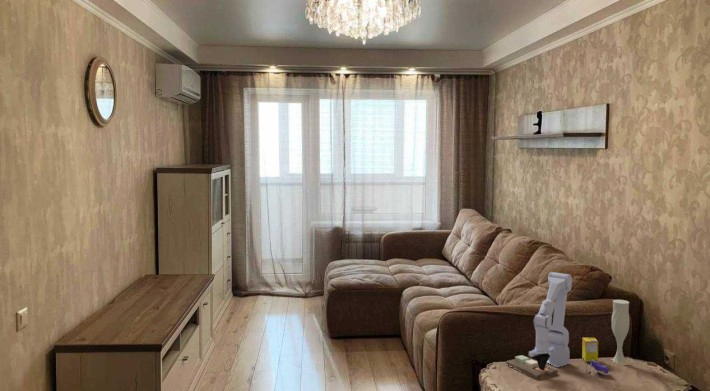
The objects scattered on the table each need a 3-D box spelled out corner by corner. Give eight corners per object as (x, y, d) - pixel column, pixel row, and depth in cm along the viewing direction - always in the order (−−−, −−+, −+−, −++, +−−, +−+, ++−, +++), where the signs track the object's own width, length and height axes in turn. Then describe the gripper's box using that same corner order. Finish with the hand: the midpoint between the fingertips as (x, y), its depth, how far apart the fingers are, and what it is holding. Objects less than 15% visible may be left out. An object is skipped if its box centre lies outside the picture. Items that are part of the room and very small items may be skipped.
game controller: (615, 365, 261) (608, 367, 254) (608, 381, 262) (600, 383, 255) (595, 354, 268) (587, 355, 260) (588, 369, 269) (580, 371, 261)
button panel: (526, 360, 279) (526, 356, 278) (557, 374, 261) (558, 370, 261) (506, 365, 273) (506, 361, 273) (536, 379, 255) (536, 375, 255)
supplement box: (594, 359, 280) (594, 337, 279) (598, 363, 274) (598, 341, 273) (581, 358, 280) (582, 337, 280) (585, 363, 274) (585, 341, 274)
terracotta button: (541, 371, 264) (541, 366, 264) (548, 375, 260) (549, 369, 260) (534, 373, 262) (534, 368, 262) (541, 376, 258) (541, 371, 258)
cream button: (531, 364, 270) (531, 359, 269) (538, 367, 266) (538, 362, 265) (524, 366, 268) (524, 361, 267) (531, 369, 264) (531, 364, 264)
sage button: (521, 360, 275) (522, 355, 275) (528, 363, 271) (528, 358, 271) (515, 361, 273) (515, 356, 273) (521, 364, 270) (521, 359, 269)
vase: (632, 365, 270) (634, 304, 268) (614, 365, 271) (616, 304, 268) (623, 359, 279) (625, 299, 277) (606, 359, 279) (608, 299, 277)
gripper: (547, 335, 267) (546, 363, 268) (524, 340, 260) (523, 369, 261) (559, 339, 260) (558, 368, 261) (535, 344, 254) (534, 374, 255)
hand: (541, 369), depth 261 cm, fingers closed, pressing on terracotta button
